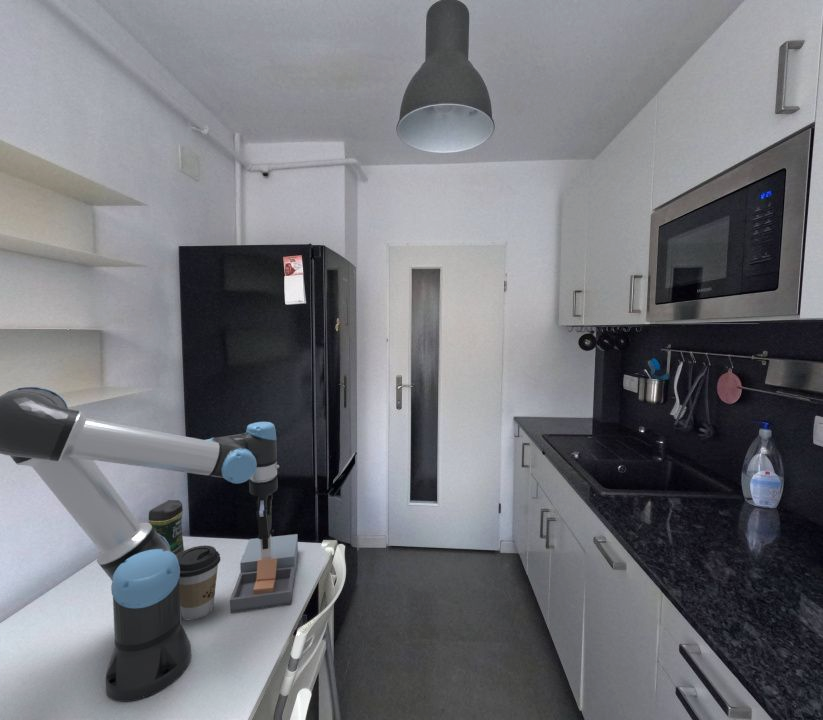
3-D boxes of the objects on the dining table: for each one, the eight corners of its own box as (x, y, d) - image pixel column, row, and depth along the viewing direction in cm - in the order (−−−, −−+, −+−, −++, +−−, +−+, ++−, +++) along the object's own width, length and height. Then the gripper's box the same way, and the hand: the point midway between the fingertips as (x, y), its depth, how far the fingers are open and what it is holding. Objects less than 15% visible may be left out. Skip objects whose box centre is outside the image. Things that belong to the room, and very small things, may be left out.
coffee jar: (169, 569, 121) (167, 510, 120) (144, 568, 121) (142, 509, 120) (188, 552, 130) (187, 497, 130) (166, 552, 131) (164, 497, 130)
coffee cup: (207, 626, 96) (205, 567, 96) (161, 626, 97) (159, 566, 96) (230, 596, 108) (228, 543, 107) (189, 596, 108) (187, 542, 107)
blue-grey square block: (294, 576, 117) (294, 556, 117) (240, 583, 114) (240, 562, 113) (297, 551, 131) (297, 534, 130) (249, 557, 127) (249, 539, 127)
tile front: (275, 577, 111) (275, 585, 111) (256, 578, 110) (256, 587, 110) (272, 587, 106) (272, 596, 106) (253, 589, 105) (253, 598, 105)
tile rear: (276, 576, 112) (275, 578, 110) (257, 577, 111) (256, 579, 109) (277, 556, 114) (276, 558, 111) (259, 558, 113) (257, 560, 110)
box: (290, 604, 104) (290, 591, 104) (230, 613, 101) (229, 600, 101) (294, 578, 116) (294, 566, 116) (240, 585, 113) (239, 573, 113)
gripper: (274, 485, 105) (277, 568, 107) (279, 468, 118) (282, 543, 120) (244, 487, 103) (248, 572, 105) (253, 470, 116) (256, 546, 118)
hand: (266, 557), depth 113 cm, fingers closed
